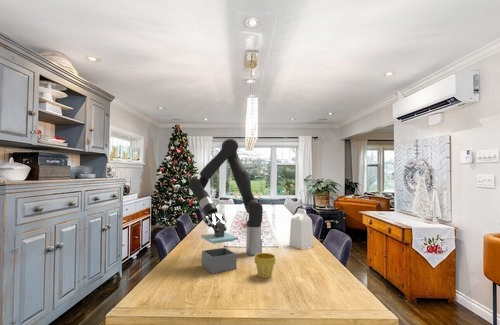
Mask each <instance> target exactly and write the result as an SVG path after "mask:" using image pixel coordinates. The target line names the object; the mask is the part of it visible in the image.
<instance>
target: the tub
mask: <svg viewBox="0 0 500 325" xmlns="http://www.w3.org/2000/svg"><path fill="white" fill-rule="evenodd" d="M237 255H238V254H237V253H236V252H234V251H232V250H231V249H229V248H227V247H219V248H213V249H205V250H202V251H201V266H202V267H203V268H204V269H205V270H207V271H208V272H209V273H211V274H213V275H214V274H218V273H223V272H228V271H235V270H237V261H238V260H237Z"/></svg>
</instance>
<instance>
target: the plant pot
mask: <svg viewBox="0 0 500 325" xmlns="http://www.w3.org/2000/svg"><path fill="white" fill-rule="evenodd" d="M254 263H255V266H256V271H257V276H258V277H259V278H263V279H268V278H271V277H272V274H273V270H274V265H275V264H276V255H275V254H273V253H270V252H262V253H258V254H256V255H254Z"/></svg>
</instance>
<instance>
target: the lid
mask: <svg viewBox="0 0 500 325" xmlns="http://www.w3.org/2000/svg"><path fill="white" fill-rule="evenodd" d="M215 225H216V226H217V228H218V230H219V231H218V233H216V232H215V231H214V230H213V231H214V233H209V234H201V235H200V238H202V239H204V240H206V241H207V242H209V243H210V244H213V245H214V244H221V243H228V242H234V241H237V240H239V237H238V236H235V235H233V234H231V233H229V232H226V231H224V223H222V222H221V223H217V222H215Z"/></svg>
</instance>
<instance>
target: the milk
mask: <svg viewBox="0 0 500 325" xmlns="http://www.w3.org/2000/svg"><path fill="white" fill-rule="evenodd" d="M289 230H290V231H289V232H290V233H289V246H291V247H293V248H296V249H299V248H300V249H299V250H305V249H304V248H306V249H309V248H308V247H311V248H313V247H314V233H313V230H314V229H313V220H312V218H311V217H310V216H309V215H308V214H307V211H306V209H304V208H297V211H296V213H294V215H293V216H292V217H291V219H290V229H289ZM312 246H313V247H312Z"/></svg>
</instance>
